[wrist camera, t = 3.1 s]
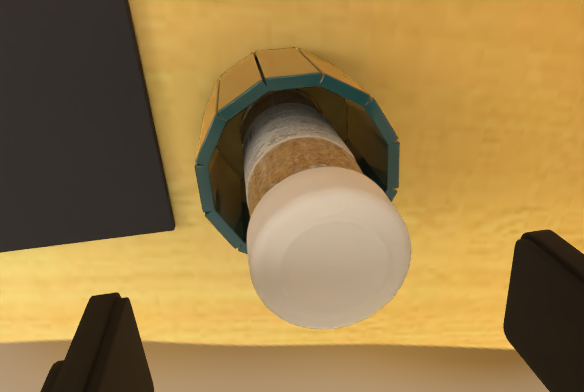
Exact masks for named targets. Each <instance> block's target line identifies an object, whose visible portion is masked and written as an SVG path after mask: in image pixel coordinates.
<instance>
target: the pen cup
mask: <svg viewBox="0 0 584 392" xmlns="http://www.w3.org/2000/svg"><path fill="white" fill-rule="evenodd" d="M255 56H256V57H255ZM314 86H321V87H323V88H325V89H327V90H329V91H331V92H333V93H336V94H338V95H340V96H342V97H343V98H344V100H345V101H346V103H347V131H348V137H347V139H346V141H345V145H346V146H347V147H348V149H349V150H350V152H351V153H352V154H353V156H354V158H355V160H356V163H357V164H358V166H359V168H360V169H361V171H362V173H363V174H364V175H365V176H367V177H368V178H369V179H371V180H372V181H373V182H375V183H376V184H377V185H378V186H379V187H380V188H381V189H382V190H383V191H384V193H385V194H386V195H387V197H388V198H389V200H390V201H391V202H392V200H393V198H394V197H395V195H396V193H397V190H396V189H395V188H398V187H399V146H400V143H399V142H398V141H397V139H398V136H397V135H396V133H395V131H394V130H393V128H392V127H391V125H390V123H389V122H388V120H387V118H386V117H385V115H384V113H383V112H382V110H381V108H380V107H379V105H378V104H377V102H376V100H375V99H374V98H373V97H372V96H371V95H370V94H369V93H367V92H366V91H365V90H364V89H362V88H361V87H360V86H359V85H357V84H356V83H355V82H354V81H353V80H351V79H350V78H349V77H348V76H346V75H345V74H344V73H343V72H341V71H340V70H339V69H338V68H336V67H335V66H334V65H333V64H331V63H329V62H326V61H324V60H322V59H320V58H318V57H316V56H314V55H312V54H310V53H308V52H306V51H304V50H302V49H300V48H298V49H296V48H295V47H292V48H282V49H272V50H262V51H255V55H254V54H253V53H251V54H249V55H248V56H247V57H245V58H244V59H243V60H241V61H240V62H239V63H237V64H236V65H235V66H233V67H232V68H231V69H229V70H228V71H226V72H225V73H224V74H222V75H221V76H220V79H218V80H217V83H216V85H215V88H214V90H213V93H212V95H211V98H210V100H209V102H208V105H207V107H206V110H205V112H204V116H203V122H202V127H201V133H200V138H199V144H198V150H197V155H196V163H195V171H196V176H197V182H198V188H199V193H200V199H201V204H202V210H203V212H205V217H206V218H207V219H208V220H209V221H210V222H211V223H212V224H213V225H214V226H215V228H216V229H217V230H218V231H219V232H220V233H221V234H222V235H223V236H224V237H225V239H226V240H227V241H228V242H229V243H230V244H231V245H232V246H233V247H234V248H235V249H236V248H238V251H240V252H243V253H246V254H248V253H247V230H248V225H249V221H250V214H249V209H248V204H247V197H246V186H245V180H244V179H241V178H240V177H239V176H238V175H237V174H236V173H235V171H234V170H233V169H232V168H231V167H230V165H229V164H228V163H227V162H226V160H225V159H224V158H223V157H222V156H221V154H220V153H219V152H218V146H217V143H218V141H219V139H220V136H221V134H222V132H223V129H224V127H225V125H226V122H227V121H228V120H230V119H231V118H232V117H234V116H235V115H236V114H238V113H239V112H241V111H242V110H243V109H245V108H246V107H247V106H249V105H250V104H252V103H253V102H254V101H256V100H257V99H258V98H260V97H261V96H263V95H264V94H265V93H267V92H268V91H276V90H286V89H295V88H305V87H314Z"/></svg>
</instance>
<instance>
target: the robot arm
mask: <svg viewBox="0 0 584 392" xmlns="http://www.w3.org/2000/svg"><path fill="white" fill-rule="evenodd" d="M504 332H505V335H506V338H507V339H508V341H509V342H510V343H511V345H512V346H513V347H514V348H515V349H516V351H517V352H518V353H519V354H520V356H521V357H522V358H523V359H524V360H525V362H526V363H527V364H528V365H529V367H530V368H531V369H532V370H533V372H534V373H535V374H536V375H537V377H538V378H539V379H540V380H541V381H542V383H543V384H544V385H545V386H546V388H547V389H548V390H549V391H550V392H584V254H583V253H581V252H580V251H579V250H577V249H576V248H575V247H573V246H572V245H571V244H569V243H568V242H566V241H565V240H564V239H562V238H561V237H560V236H558V235H557V234H556V233H554V232H553V231H551V230H540V231H533V232H527V233H524V234H523V235H522V237H521V239H519V240H517V242H516V244H515V249H514V256H513V263H512V270H511V277H510V284H509V290H508V297H507V304H506V311H505V318H504ZM41 392H154V387H153V381H152V378H151V374H150V371H149V367H148V364H147V360H146V356H145V353H144V349H143V346H142V342H141V338H140V335H139V331H138V328H137V324H136V321H135V317H134V313H133V310H132V306H131V303H130V300H129V298H127V297H126V298H121V296H120V294H119V293H117V292H116V293H109V294H103V295H96V296H92V297H91V298H90V299H89V302H88V304H87V306H86V309H85V311H84V314H83V316H82V319H81V321H80V323H79V326H78V328H77V331H76V333H75V336H74V338H73V340H72V343H71V345H70V348H69V350H68V353H67V355H66V357H65V360H63V361H57V362H56V363H54V364H53V366H52V367H51V369H50V371H49V374H48V376H47V378H46V380H45V383H44V385H43V387H42V390H41Z"/></svg>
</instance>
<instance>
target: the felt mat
mask: <svg viewBox="0 0 584 392" xmlns="http://www.w3.org/2000/svg"><path fill="white" fill-rule="evenodd" d="M174 228H175V221H174V217H173V212H172V207H171V203H170V198H169V193H168V188H167V184H166V179H165V174H164V169H163V165H162V160H161V155H160V151H159V146H158V141H157V136H156V132H155V127H154V122H153V117H152V113H151V108H150V103H149V98H148V94H147V89H146V84H145V80H144V75H143V70H142V65H141V61H140V56H139V51H138V46H137V42H136V37H135V32H134V27H133V23H132V18H131V13H130V9H129V4H128V0H0V252H7V251H15V250H23V249H30V248H38V247H46V246H54V245H62V244H70V243H77V242H85V241H93V240H101V239H109V238H117V237H125V236H132V235H140V234H148V233H156V232H164V231H172V230H174Z"/></svg>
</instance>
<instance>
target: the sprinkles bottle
mask: <svg viewBox="0 0 584 392" xmlns="http://www.w3.org/2000/svg"><path fill="white" fill-rule="evenodd" d="M240 134H241V141H242V144H243V164H244V176H245V186H246V197H247V204H248V209H249V214H250V221H249V225H248V230H247V253H248V261H249V268H250V274H251V279H252V283H253V285H254V288H255V290H256V292H257V295H258V296H259V298H260V299H261V301H262V302H263V303H264V304H265V305H266V307H267V308H268V309H269V310H271V311H272V312H273V313H274V314H275V315H277V316H278V317H280V318H281V319H283V320H285V321H287V322H289V323H292V324H294V325H297V326H301V327H305V328H311V329H335V328H341V327H345V326H349V325H352V324H354V323H357V322H359V321H362V320H364V319H366V318H368V317H369V316H371V315H373V314H374V313H376V312H377V311H379V310H380V309H381V308H382V307H384V306H385V305H386V304H387V303H388V302H389V301H390V300H391V299H392V298H393V297H394V296H395V294H396V293H397V291H398V290H399V288H400V287H401V285H402V284H403V282H404V279H405V277H406V275H407V272H408V269H409V266H410V260H411V242H410V237H409V233H408V230H407V227H406V225H405V222H404V221H403V219H402V217H401V216H400V214H399V213H398V211H397V209H396V208H395V207H394V205H393V204H392V202H391V201H390V200H389V198H388V197H387V195H386V194H385V193H384V191H383V190H382V189H381V188H380V187H379V186H378V185H377V184H376V183H375V182H373V181H372V180H371V179H369V178H368V177H367V176H365V175H364V174H363V173H362V171H361V169H360V168H359V166H358V164H357V163H356V160H355V158H354V156H353V154H352V153H351V152H350V150H349V149H348V147H347V146H346V145H345V143H344V142H343V140H342V139H341V138H340V136H339V135H338V134H337V132H336V131H335V129H334V128H333V127H332V125H331V124H330V123H329V121H328V120H327V119H326V118H325V117H324V116H323V113H322V111H321V109H320V108H319V106H318V104H317V103H316V102H315V101H314V100H313V99H312V98H311V97H310V96H309V95H307V94H306V93H305V92H302V91H299V90H297V89H286V90H276V91H268V92H267V93H265V94H264V95H263V96H261V97H260V98H258V99H257V100H256V101H254V102H253V103H252V104H250V105H249V106H248V107H247V108H246V110H245V112H244V115H243V117H242V122H241V125H240Z"/></svg>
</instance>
